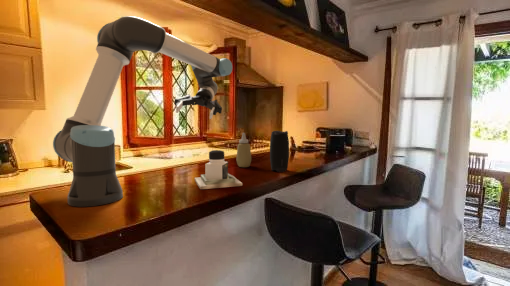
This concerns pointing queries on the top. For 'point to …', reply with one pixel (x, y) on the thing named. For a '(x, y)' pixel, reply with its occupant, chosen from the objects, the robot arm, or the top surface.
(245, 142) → the squeeze bottle
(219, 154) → the medicine bottle
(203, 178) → the collar tray
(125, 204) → the top surface
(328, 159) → the top surface
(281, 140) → the portable speaker
